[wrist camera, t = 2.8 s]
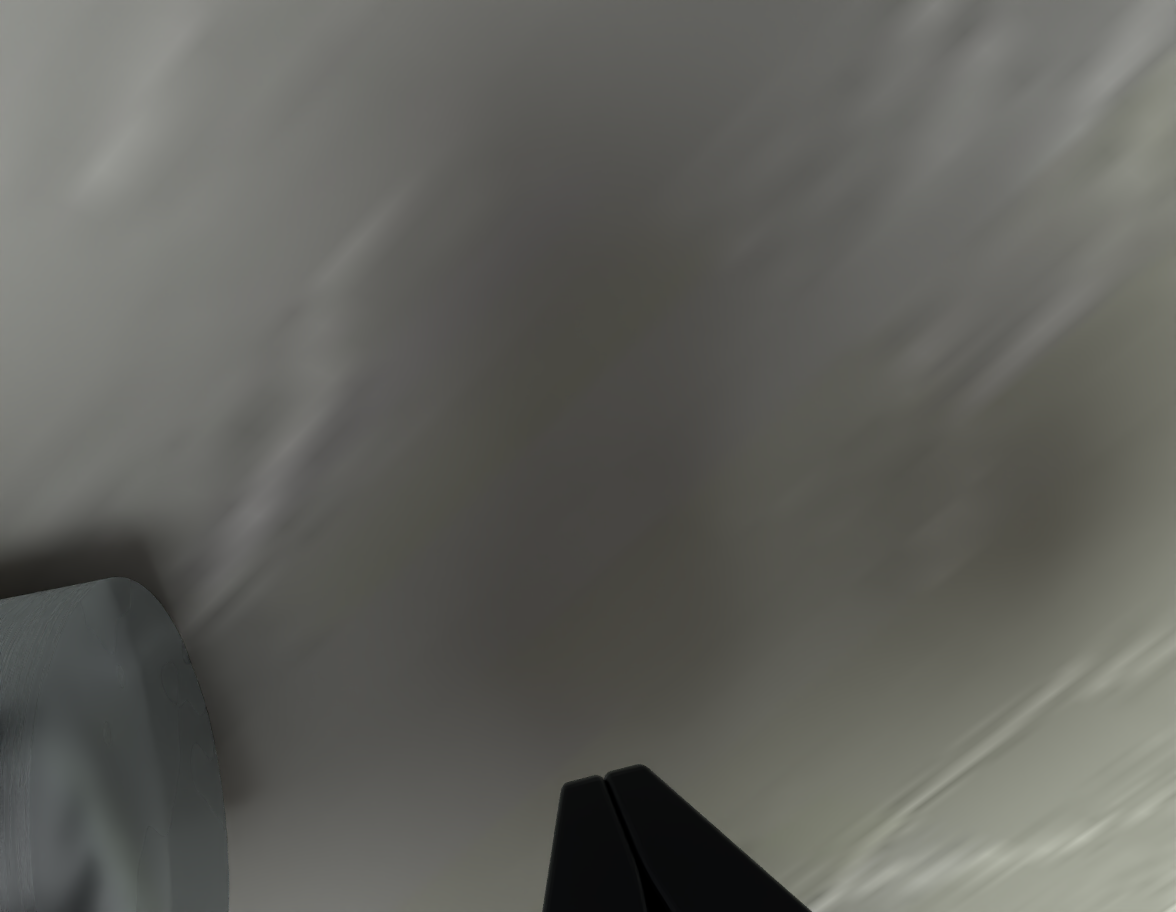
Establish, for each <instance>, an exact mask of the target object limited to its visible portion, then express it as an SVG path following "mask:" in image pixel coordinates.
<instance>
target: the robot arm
mask: <svg viewBox="0 0 1176 912" xmlns="http://www.w3.org/2000/svg"><path fill="white" fill-rule="evenodd" d="M542 912H812V911H810V910H809V909H808V908H807V907H806V906H805V905H804V904H803V903H801V902H800V901H799V900H798V899H797V898H796V897H795V896H793V895H792V894H791V893H790V892H789V891H788V890H787V889H785V888H784V887H783V886H782V885H781V884H780V883H779V882H777V881H776V880H775V879H774V878H773V877H772V876H771V875H770V874H768V873H767V872H766V871H765V870H764V869H763V868H762V867H760V866H759V865H758V864H757V863H756V862H755V861H754V860H752V859H751V858H750V857H749V856H748V855H747V854H746V853H744V852H743V851H742V850H741V849H740V848H739V847H738V846H736V845H735V844H734V843H733V842H732V841H731V840H730V839H729V838H727V837H726V836H725V835H724V834H723V833H722V832H721V831H719V830H718V829H717V828H716V827H715V826H714V825H713V824H711V823H710V822H709V821H708V820H707V819H706V818H705V817H703V816H702V815H701V814H700V813H699V812H698V811H697V810H696V809H694V808H693V807H692V806H691V805H690V804H689V803H688V802H686V801H685V800H684V799H683V798H682V797H681V796H680V795H678V794H677V793H676V792H675V791H674V790H673V789H672V788H670V787H669V786H668V785H667V784H666V783H665V782H664V781H662V780H661V779H660V778H659V777H658V776H657V775H656V774H655V773H653V772H652V771H651V770H650V769H649V768H647V767H646V766H644V765H641V764H637V765H633V766H629V767H625V768H621V769H617V770H613V771H610V772H608V773H607V774H606V775H605V777H604V779H603V778H602V777H601V776H599V775H594V776H590V777H586V778H582V779H579V780H575V781H571V782H567V783H565V784H564V785H563V787H562V789H561V793H560V799H559V806H558V812H557V819H556V826H555V832H554V839H553V845H552V852H551V858H550V865H549V872H548V878H547V885H546V891H545V898H544V904H543V911H542Z"/></svg>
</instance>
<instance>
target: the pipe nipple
mask: <svg viewBox="0 0 1176 912" xmlns="http://www.w3.org/2000/svg"><path fill="white" fill-rule="evenodd" d="M0 912H229V866H228V844H227V831H226V818H225V809H224V800H223V792H222V784H221V778H220V771H219V765H218V759H217V754H216V749H215V743H214V738H213V734H212V729H211V725H210V721H209V716H208V712H207V709H206V705H205V702H204V698H203V695H202V692H201V690H200V687H199V684H198V681H197V679H196V676H195V673H194V670H193V667H192V665H191V662H190V659H189V656H188V654H187V651H186V648H185V645H184V643H183V641H182V639H181V637H180V634H179V632H178V630H177V629H176V627H175V625H174V623H173V622H172V620H171V618H170V616H169V615H168V613H167V612H166V611H165V609H164V608H163V606H162V605H161V604H160V602H159V601H158V600H157V599H156V598H155V597H154V596H153V595H152V593H151V592H150V591H149V590H147V589H146V588H145V587H143V586H142V585H141V584H139V583H138V582H136V581H133V580H131V579H129V578H124V577H111V578H106V579H101V580H96V581H91V582H86V583H81V584H76V585H71V586H66V587H61V588H56V589H51V590H46V591H41V592H36V593H31V594H26V595H21V596H16V597H11V598H6V599H1V600H0Z"/></svg>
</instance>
